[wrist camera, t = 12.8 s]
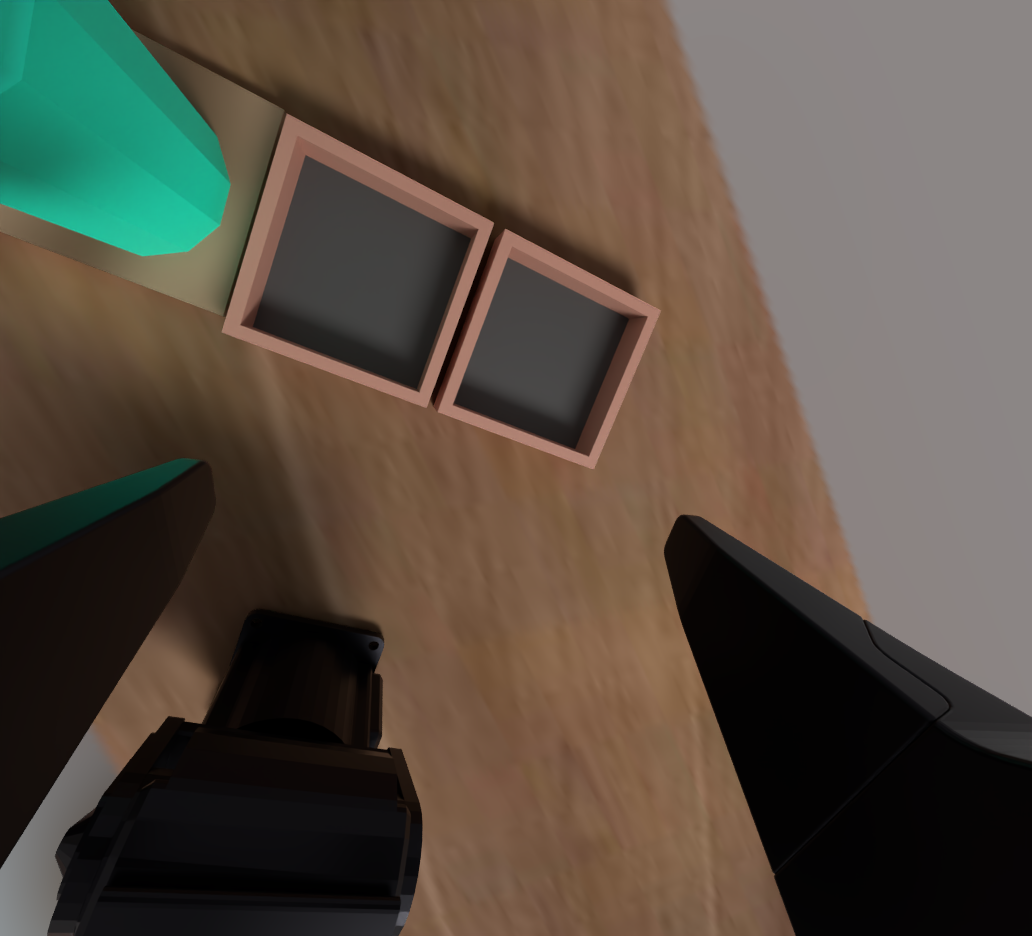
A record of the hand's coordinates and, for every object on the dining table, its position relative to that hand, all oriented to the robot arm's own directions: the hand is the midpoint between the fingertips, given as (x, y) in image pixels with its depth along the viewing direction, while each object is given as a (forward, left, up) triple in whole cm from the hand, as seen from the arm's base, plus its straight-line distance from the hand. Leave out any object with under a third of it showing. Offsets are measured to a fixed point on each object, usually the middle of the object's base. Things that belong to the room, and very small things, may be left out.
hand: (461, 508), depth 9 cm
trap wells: (0, +5, -14) cm, 15 cm away
